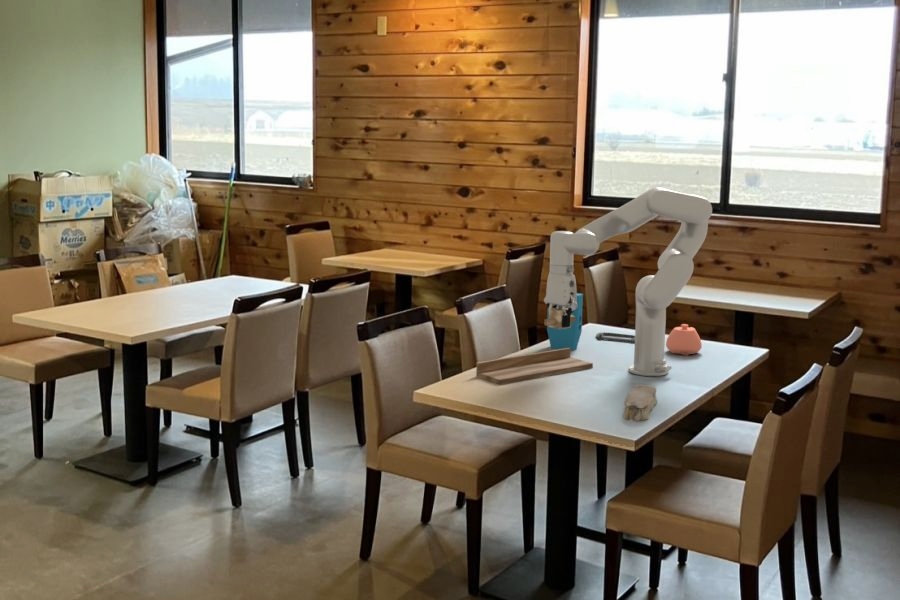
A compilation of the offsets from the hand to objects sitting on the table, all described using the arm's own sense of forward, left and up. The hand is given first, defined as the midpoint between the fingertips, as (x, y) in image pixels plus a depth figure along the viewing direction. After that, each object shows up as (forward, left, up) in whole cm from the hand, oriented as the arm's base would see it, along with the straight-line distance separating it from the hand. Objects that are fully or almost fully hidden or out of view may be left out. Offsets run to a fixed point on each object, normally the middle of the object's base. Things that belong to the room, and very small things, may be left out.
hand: (559, 324), depth 316 cm
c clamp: (+23, -51, -16) cm, 58 cm away
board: (+3, +7, -15) cm, 17 cm away
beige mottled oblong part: (-46, +10, -16) cm, 50 cm away
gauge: (0, 0, -1) cm, 1 cm away
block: (+24, -24, -16) cm, 38 cm away
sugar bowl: (-4, -56, -16) cm, 58 cm away
